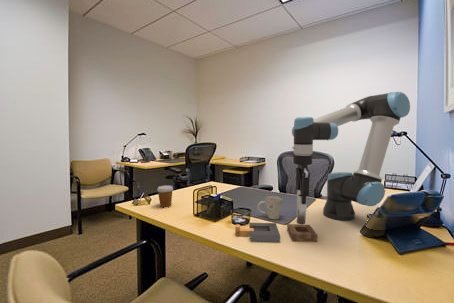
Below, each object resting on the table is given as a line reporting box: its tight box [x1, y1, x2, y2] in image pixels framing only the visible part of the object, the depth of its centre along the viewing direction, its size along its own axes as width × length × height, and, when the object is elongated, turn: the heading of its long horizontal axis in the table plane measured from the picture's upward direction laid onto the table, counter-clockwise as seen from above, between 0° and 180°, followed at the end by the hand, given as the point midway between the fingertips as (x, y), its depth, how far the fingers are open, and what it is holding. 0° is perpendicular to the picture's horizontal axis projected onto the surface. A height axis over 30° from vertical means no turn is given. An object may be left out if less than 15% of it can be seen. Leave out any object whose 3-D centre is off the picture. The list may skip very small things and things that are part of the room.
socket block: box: [248, 222, 281, 243], centre depth 97 cm, size 12×12×3 cm
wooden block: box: [234, 224, 254, 237], centre depth 97 cm, size 8×3×4 cm, turn 86°
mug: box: [257, 196, 283, 220], centre depth 117 cm, size 8×13×10 cm, turn 78°
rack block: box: [286, 223, 318, 243], centre depth 96 cm, size 10×10×3 cm
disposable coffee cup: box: [156, 185, 174, 208], centre depth 136 cm, size 10×10×12 cm
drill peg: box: [296, 189, 307, 225], centre depth 95 cm, size 4×4×14 cm
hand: (301, 209), depth 95 cm, fingers closed on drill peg, 3 cm apart
